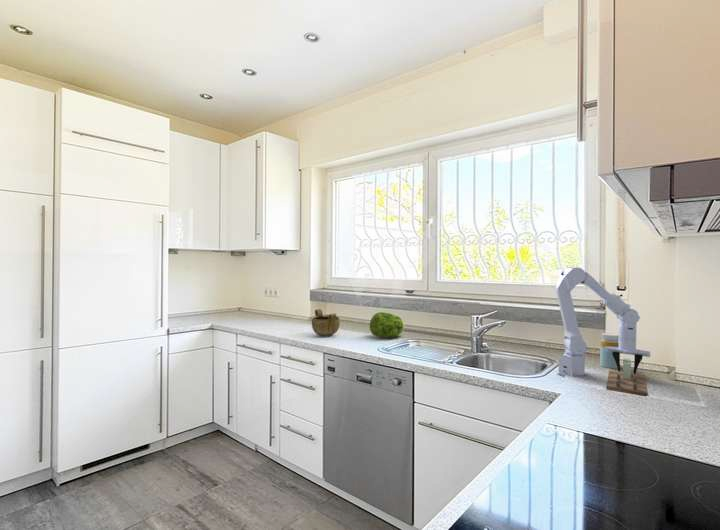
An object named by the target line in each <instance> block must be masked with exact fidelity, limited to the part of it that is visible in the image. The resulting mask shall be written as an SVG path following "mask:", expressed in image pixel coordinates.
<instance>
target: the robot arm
mask: <svg viewBox="0 0 720 530" xmlns="http://www.w3.org/2000/svg"><path fill="white" fill-rule="evenodd" d="M578 285H585V286H586V287H587V288H589V289H590V290H591V291H593V292H594V293H595V294H597V296H599V297H600V298H601V299H602V304H603V305H604V306H605V307H606V308H607V309H609V310H610V312H612V313H613V314H614V315H615V316H616V318H617V319H618V335H619V340H618V343H619V347H607V346H606V347H605V352H612V355H613V357H614V359H615V362H616V364H617V368H618V369H617V371H618V372H620V371H621V360H620V359H621V358H620V357H621V354H624V355H632V356H634V363H633V373H634V374H637V371H638V367H639V366H640V363H641V362H642V360H643V357H646V358H651V351H649V350H642V349H637V323H638V322H639V321H640V319H641V317H640V315H639V312H638V311H637V310H636V309H634V308H631V304H629V303H626V302H625V301H624V300H623V299H622V296H621V295H619V294H616V293H611V292H609V291H607V289H606V288H604V286H603V285H601V283H599V282H598V281H597V280H596V279H595V278H594V277H593V276H592V275H591V274H590V273H589V272H587V271H585V270H584V269H583V268H581V267H572V266H569V267H566V268H564V270H562V271H561V272H560V273H559V278H558V281H557V283H556V286H555V292H556V297H557V301H558V305H559V306H558V307H559V311H560V314H561V320H562V323H563V327H564V333H563V335H564V338H563V346H564V347H565V349H564V354H562V355H560V357H558V358H559V359H558V372H556V374H557V375H559V376H564V377H566V376H567V375H568V376H570V377H575V376H584V375H585V373H586V352H587V349H588V346H587V343H586V341H584V338H583V335H582V333H581V332H580V329H579V326H578V325H579V324H578V320H577V316H576V311H575V307H574V303H573V297H572V294H571V292H572V291H573V289H574V288H575V287H576V286H578Z"/></svg>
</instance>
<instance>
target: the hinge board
mask: <svg viewBox="0 0 720 530" xmlns="http://www.w3.org/2000/svg"><path fill="white" fill-rule="evenodd" d="M646 379H647V378H646V375H645V374H643V373H636V374H634V372H631V380H630V379H623V370H622V371H621V370H620V372H618V370H616V369H609V370H608V376H607V380H606V385H605V387H606V388H605V389H606V391H612V392H618V393H625V394H628V395H629V394H630V395H635V396H639V397H641V396H642V397H646V396H649V395H648V388H647V380H646Z"/></svg>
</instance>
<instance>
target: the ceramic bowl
mask: <svg viewBox="0 0 720 530" xmlns="http://www.w3.org/2000/svg"><path fill="white" fill-rule="evenodd" d="M314 315H315V316H314V317H312V318H311V328H312V330H313V332H314V333H315V334H316V335H317V336H319V337H322V338H323V337H324V338H325V337H331V336H333V335H335V334H336V333H337V332H338V330H339V329H340V323H341V322H340V317H339V316H337V314H336V313H330V314H329V315H324V314H323V311H322V309H318V308H316V309H315V310H314Z"/></svg>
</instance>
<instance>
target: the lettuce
mask: <svg viewBox="0 0 720 530" xmlns="http://www.w3.org/2000/svg"><path fill="white" fill-rule="evenodd" d="M404 329H405V324H404V321H403V319H402V318H401V317H400V316H398V315H397V314H396V315H395V314H393V313H388V312H381V311H379V312H377V313H375V314H373V315H372V317H371V319H370V321H369V331H370V333H371V334H372V335H373V336H376V337H378V338H382V339H391V338H395V337H398V336H399V335H400V334H402V333H403V332H404Z"/></svg>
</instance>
